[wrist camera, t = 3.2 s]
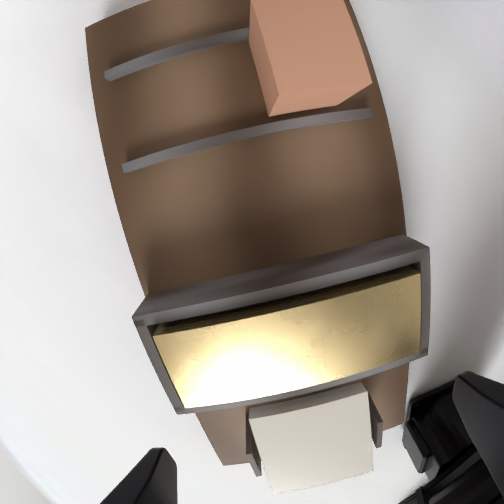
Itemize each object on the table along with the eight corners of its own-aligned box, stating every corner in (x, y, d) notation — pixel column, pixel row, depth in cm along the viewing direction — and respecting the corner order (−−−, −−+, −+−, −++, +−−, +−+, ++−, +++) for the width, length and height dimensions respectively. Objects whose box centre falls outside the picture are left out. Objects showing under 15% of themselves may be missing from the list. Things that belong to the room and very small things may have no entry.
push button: (394, 256, 14) (420, 273, 11) (397, 327, 15) (419, 352, 12) (166, 309, 14) (152, 336, 12) (192, 376, 15) (185, 407, 13)
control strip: (327, -12, 12) (353, -62, 7) (393, 406, 19) (419, 454, 14) (100, 39, 12) (54, 4, 7) (224, 445, 20) (221, 500, 15)
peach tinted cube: (315, 33, 11) (339, -9, 7) (336, 105, 12) (372, 83, 8) (248, 42, 11) (250, -2, 7) (268, 116, 12) (279, 94, 8)
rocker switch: (360, 381, 15) (367, 391, 13) (368, 459, 15) (373, 470, 13) (249, 408, 15) (248, 419, 14) (272, 482, 15) (272, 494, 14)
